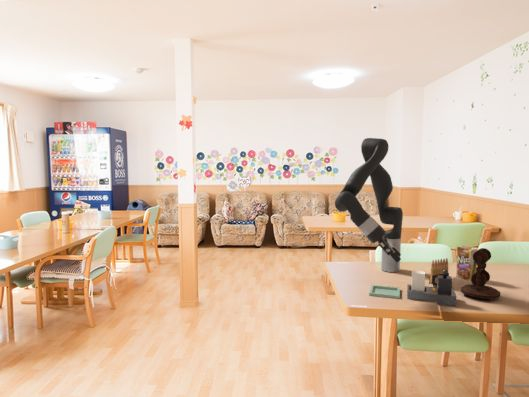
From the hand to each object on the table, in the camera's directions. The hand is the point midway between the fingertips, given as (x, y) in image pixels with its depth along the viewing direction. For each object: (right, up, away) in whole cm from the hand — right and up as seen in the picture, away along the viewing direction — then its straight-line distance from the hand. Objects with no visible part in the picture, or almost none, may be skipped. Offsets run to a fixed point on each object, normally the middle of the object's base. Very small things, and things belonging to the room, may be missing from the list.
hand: (399, 258), depth 167 cm
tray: (-5, -16, +3) cm, 17 cm away
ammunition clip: (+25, -15, +18) cm, 34 cm away
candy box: (+41, -14, +27) cm, 51 cm away
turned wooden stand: (+35, -16, +2) cm, 38 cm away
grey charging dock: (+12, -17, -3) cm, 21 cm away
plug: (+7, -15, -1) cm, 17 cm away
